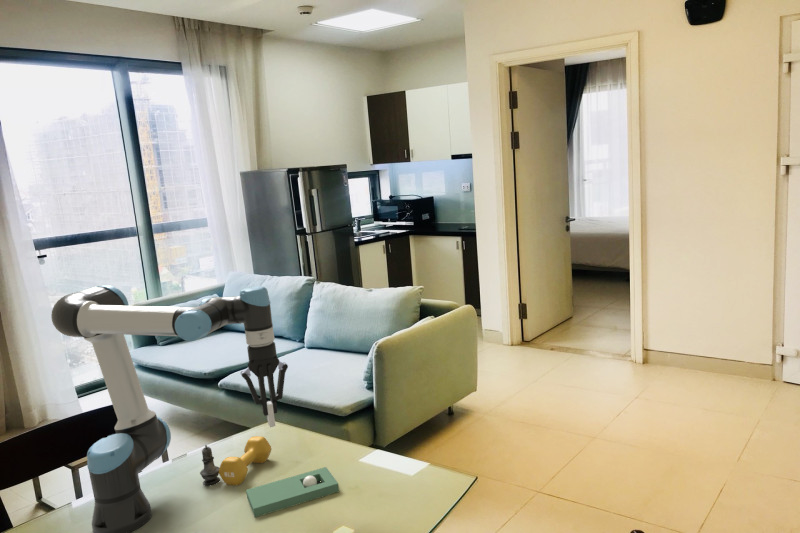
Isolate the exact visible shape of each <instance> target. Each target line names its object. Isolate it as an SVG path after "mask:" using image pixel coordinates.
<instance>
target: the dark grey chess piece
mask: <svg viewBox="0 0 800 533" xmlns="http://www.w3.org/2000/svg"><path fill="white" fill-rule="evenodd" d="M201 453H202V459H201V462H202V463H203V469H201V471H200V472H199V475H200V477H202V479H203V482H202V485H203V486H204V485H205V487H211V486H214V484H215V485H217V484H218V483H220V482H221V477H220V475H219V468H220V466H218V465H215V462H214V461H215V460H214V459H215V457H214V456H213V451H212V448H211V447H210V446H208V445H207V444H205V446H204V448H202V449H201ZM219 481H220V482H219ZM216 483H217V484H216ZM210 485H211V486H210Z"/></svg>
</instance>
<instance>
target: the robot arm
mask: <svg viewBox="0 0 800 533" xmlns="http://www.w3.org/2000/svg"><path fill="white" fill-rule="evenodd" d="M269 295H270V294H269V291H268V288H266V287H265V286H262V285H261V286H251V287H250V286H249V287H245V288H242V289H241V290H240V291H239V295H238V296H234V295H233V296H218V297H217V296H212V297H207V298H206V297H205V298H204V299H201V301H200V302H199V304H198V306H194V307H191V306H163V305H162V306H159V305H158V306H157V305H155V306H154V305H147V306H146V305H129V301H128V298H127V297H126V295H125V294H124V293H123V291H121V290H120V289H119V288H116V287H115V286H113V285H110V284H109V285H108V284H102V285H95V286H93V287H89V288H86V289H83V290H80V291H75V292H72V293H70V294H67V295H64V296H63V297H61V298H59V299H58V300H57V302H55V304H54V305H53V308H52V310H51V322H52V325H53V327H55V329H56V330H57V332H59V333H60V334H63V335H65V336H68V337H75V338H83V339H84V340H85V341H88V342H89V343H91V344H92V348H93V350H94V353H95V356H96V359H97V362H98V365H99V368H100V371H101V374H102V377H103V380H104V383H105V387H106V389H107V391H108V394H109V398H110V400H111V401H110V402H111V404H112V407H113V409H114V413H115V415H116V418H117V421H116V423H115V425H114V431H115V433H112V434H109V435H107V437H102V438H100V439H99V440H97V441H96V442H94V443H93V444H92V445H91V446H90V447H89V448H88V450H87V453H86V460H87V462H86V464H87V470H88V474H89V478H90V482H91V488H92V494H93V498H94V507H93V513H92V520H91V527H92V533H130V532H134V531H135V530H137V529H139V528H141V527H143V526H144V525H145V524H147V523H148V522H149V520H151V518H152V515H153V511H152V506H151V503H150V502H149V500H148V498H147V496H146V495H145V493H144V492H143V490H142V488H141V483H140V477H139V473H141V472H142V471H144V469H146V468H147V467H148V466H150V465H151V464H152V463H153V462H154V461H157V460H158V459H160V457H162V455H163V454H164V453H165V452H166V451H167V450H168V448H169V446H170V444H171V440H172V437H171V436H172V434H171V429H170V427H169V424H168V423H167V422H166V421H165V420H164V421H163V418H161V417H158V416H157V413H156V411H154V410H151V409H149V407H148V404H147V401H146V397H145V395H144V392H143V389H142V385H141V382H140V379H139V376H138V374H137V370H136V368H135V365H134V362H133V358H132V355H131V352H130V348H129V345H128V343H127V341H126V337H125V335H132V336H161V337H162V336H163V337H179V338H181V339H182V340H183V341H187V342H194V341H196V340H197V341H198V340H201V339H203V338H205V337H206V336H207V335H209V334H211V333H212V332H214V331H216V330H218V329H220V328H222V327H224V326H227V325H233V324H240V325H241V324H243V326H244V334H245V341H246V344H247V355H248V363H247V368H245V370H242V371H241V372H240V375H241V377H242V378H243V379H244V380H245V381H246V384H247V387H248V388H249V392H250V394H251V396H252V399H253V401H254V403H255V404H256V405H261V409H262V414H263V415H264V417H266V419H267V425H268V427H269V428H273V427H276V420H275V414H277V413H278V407H277V406H278V405H277V402H278V400H282V399H283V396H284V395H283V394H284V387H285V386H284V385H285V377H286V372H287V370H288V367H289V365H288V364H287V363H286V362H285V361H284V362H282V361H280V359H279V358H278V356H277V348H276V347H277V346H276V342H275V333H274V325H273V319H272V317H273V316H272V310H271V309H272V307H271V301H270V296H269ZM276 370H278V375H277V384H276V388H275V382H274V373H275V372H276ZM251 373H252V374H254V375H255V377H257V380H258V381H257V382H258V388H259V395H260V396H259V395H258V392H257V390H256V388H255V386H254V384H253V381H252V378H251V375H252V374H251ZM265 378H267V385H268V390H269V391H268V393H269V399H270V400H267V393H266V391H267V390H266V384H265ZM259 397H260V398H259Z"/></svg>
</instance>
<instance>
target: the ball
mask: <svg viewBox="0 0 800 533" xmlns="http://www.w3.org/2000/svg"><path fill="white" fill-rule="evenodd" d="M313 485H317V480H316V478H315V477H314V476H307V477H305V479H304V480H303V486H304V488H306V487H310V486H313Z"/></svg>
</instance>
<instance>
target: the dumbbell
mask: <svg viewBox="0 0 800 533" xmlns="http://www.w3.org/2000/svg"><path fill="white" fill-rule="evenodd" d="M245 443H246V444H245V446H244V450H243V452H244V453H243V454H242V455H241V456H227V457H225V458H224V459H223V460H222V461H221V463H220V465H219V475H218V476H219V477H220V479H221V480H222V481H223V482H224V484H225V485H228V486H240V485H241V484H242V483H244V481H245V480H246V477H247V475H248V472H249V468H248V467H249V465H250V464H251V463H254V464H262V463H265V462H266V461H267V460H268V459H269V457H270V455H271V453H272V445H271V444H270V442H269V441H268V440H267V438H266V437H265V436H256V435H255V436H251V437H250V438H249V439H248V440H247V441H246V442H245Z"/></svg>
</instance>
